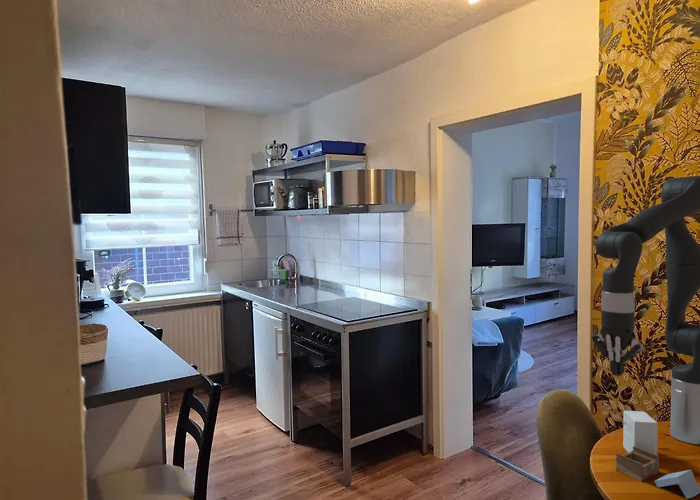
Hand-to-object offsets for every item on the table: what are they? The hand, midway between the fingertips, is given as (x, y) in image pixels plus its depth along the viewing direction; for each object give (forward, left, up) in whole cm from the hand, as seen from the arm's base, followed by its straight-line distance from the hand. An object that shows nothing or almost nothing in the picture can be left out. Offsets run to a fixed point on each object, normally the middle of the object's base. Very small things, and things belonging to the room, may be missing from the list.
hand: (616, 374), depth 121 cm
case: (0, +6, -23) cm, 24 cm away
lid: (+1, +14, -20) cm, 24 cm away
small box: (-9, +1, -23) cm, 25 cm away
